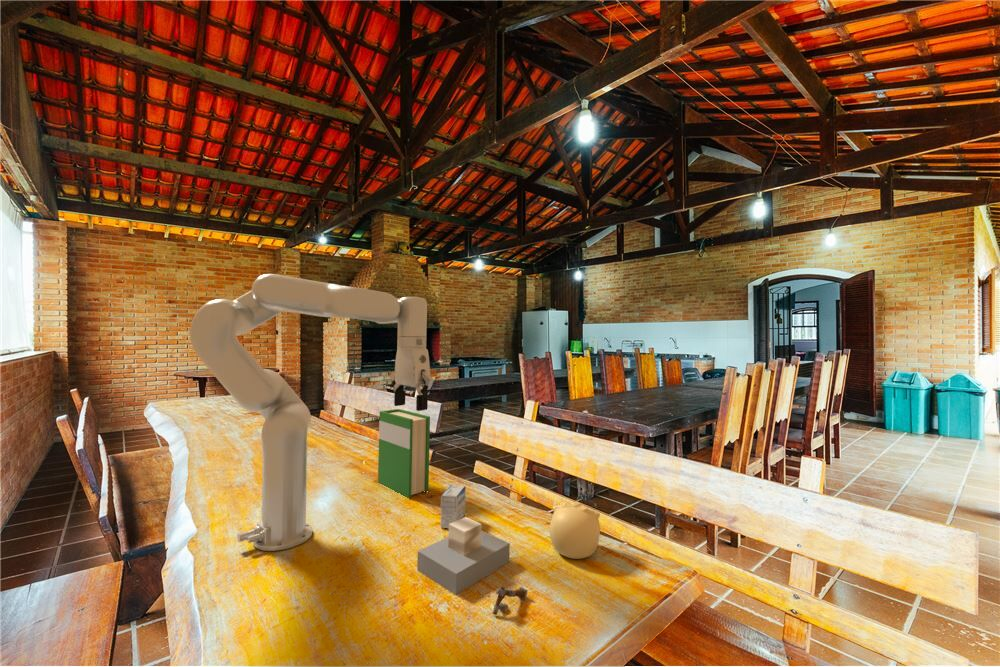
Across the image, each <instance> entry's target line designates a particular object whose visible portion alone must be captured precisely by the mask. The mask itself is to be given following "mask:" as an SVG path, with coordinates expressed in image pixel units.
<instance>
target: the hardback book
mask: <svg viewBox="0 0 1000 667" xmlns="http://www.w3.org/2000/svg"><path fill="white" fill-rule="evenodd" d="M378 417H379V422H378V424H379V425H378V426H379V427H378V467H377V468H378V469H377V471H378V472H377V484H378V483H380V484H382V485H384V486H386V487H388V488H390V489H392V490H394V491H395V492H397V493H400V494H401V495H403V496H405V497H407V498H410V499H412V496H413V495H415V494H419V493H423V492H422V491H425V492H427V491H428V492H429V485H430V481H429V479H430V438H431V436H430V435H431V434H430V433H431V428H430V427H431V416H429V415H425V414H421V413H417V412H413V411H409V410H405V409H402V408H394V409H389V410H382V411H381V410H380V411H379V415H378ZM395 492H394V493H395ZM397 493H396V494H397ZM401 495H400V496H401ZM403 496H402V497H403ZM405 497H404V498H405ZM407 498H406V499H407Z"/></svg>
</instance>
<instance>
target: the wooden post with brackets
mask: <svg viewBox="0 0 1000 667" xmlns="http://www.w3.org/2000/svg"><path fill="white" fill-rule="evenodd" d="M527 594H528V589H526V588H524V587H523V586H519V588H518V589H515V590H514V589H510V588H506V587H505V586H504V585H503V586H502V585H501V586H500V587H498V588H497V589H496V595H497V598H496V602H495V604H494V606H493V610H492V614H493V615H495V616H497V615H498V612H499V611H501V612H504V611H505V610H506V609H507V608H508V609H509V605H508V604H506V603H502V601H504V600H503V599H505V597H509V598H512V597H513V598H515V597H518V598H519V599H521V600H522V599H523V601H526V599H527ZM508 609H507V610H508ZM507 610H506V611H507Z"/></svg>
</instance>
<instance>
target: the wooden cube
mask: <svg viewBox="0 0 1000 667" xmlns="http://www.w3.org/2000/svg"><path fill="white" fill-rule="evenodd" d="M481 530H482V523H480V522H478V521H476V520H473V519H471V518H469V517H466V516H465V517H464V518H462V519H460V520H457V521H455V522H453V523H450V524H449V529H448V537H449V538H448V547H449V548H451V549H452V550H454V551H456V552H458V553H459V554H461V555H463V556H465V555H467V554H469V553H471V552H473V551H475V550H477V549H479V548H480V547H481Z"/></svg>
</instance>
